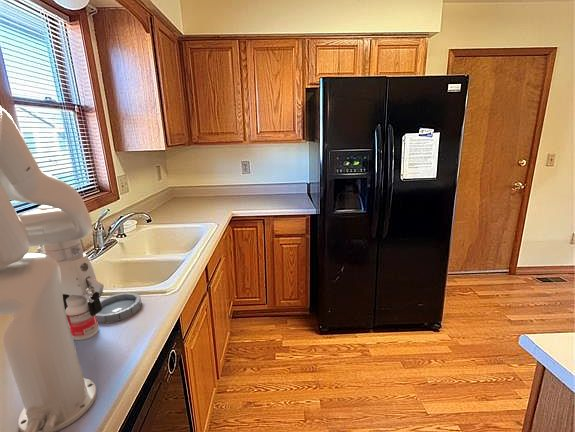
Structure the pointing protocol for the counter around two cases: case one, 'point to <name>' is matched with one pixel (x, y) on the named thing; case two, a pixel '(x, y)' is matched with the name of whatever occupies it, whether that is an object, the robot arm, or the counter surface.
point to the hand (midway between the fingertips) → (81, 311)
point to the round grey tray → (118, 307)
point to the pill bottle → (80, 318)
